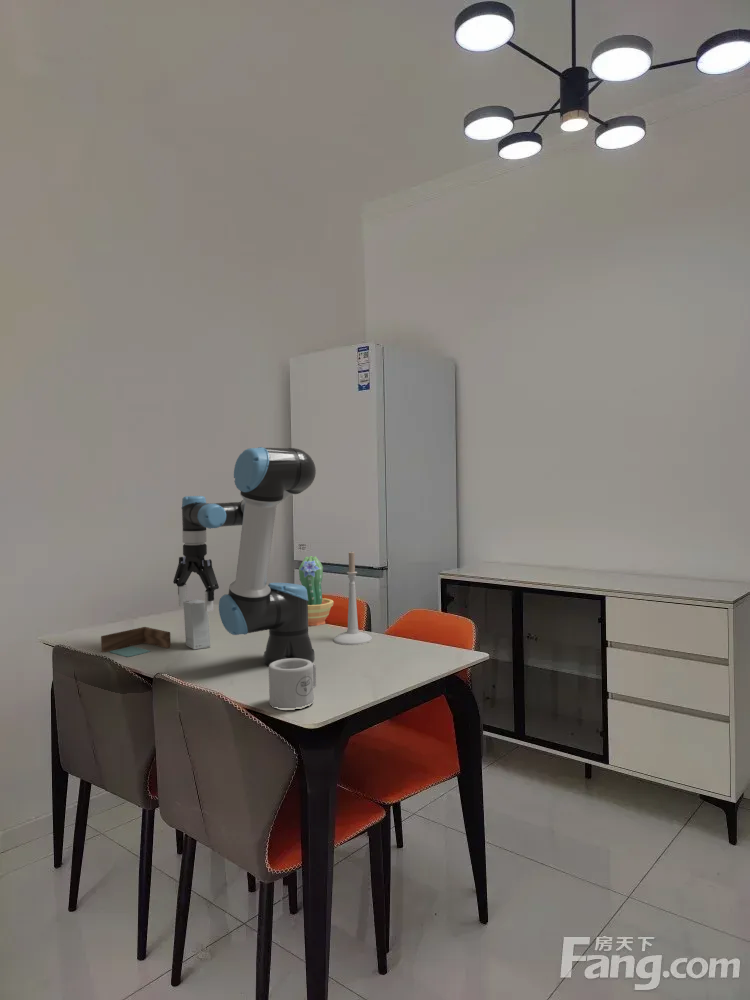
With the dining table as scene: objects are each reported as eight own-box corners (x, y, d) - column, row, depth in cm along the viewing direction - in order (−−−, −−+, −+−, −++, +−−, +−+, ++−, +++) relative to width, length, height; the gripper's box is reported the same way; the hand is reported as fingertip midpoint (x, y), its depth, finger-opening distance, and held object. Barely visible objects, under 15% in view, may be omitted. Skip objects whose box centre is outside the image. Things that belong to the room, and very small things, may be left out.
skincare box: (210, 647, 224) (209, 601, 224) (192, 650, 221) (191, 604, 220) (201, 642, 231) (200, 598, 231) (184, 645, 228) (182, 600, 227)
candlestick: (329, 637, 235) (328, 549, 234) (365, 634, 239) (364, 547, 238) (339, 646, 223) (337, 553, 222) (377, 643, 227) (375, 551, 226)
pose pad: (150, 651, 220) (150, 650, 220) (127, 657, 214) (127, 656, 214) (132, 647, 226) (132, 646, 226) (109, 652, 220) (109, 651, 220)
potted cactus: (284, 624, 257) (282, 557, 256) (310, 617, 269) (309, 552, 268) (316, 629, 248) (314, 559, 247) (342, 621, 260) (341, 555, 259)
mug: (289, 714, 161) (288, 672, 161) (260, 705, 168) (259, 664, 168) (331, 700, 171) (330, 660, 171) (301, 691, 179) (300, 652, 178)
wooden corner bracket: (170, 647, 225) (170, 632, 225) (126, 658, 213) (126, 642, 212) (145, 641, 234) (144, 626, 234) (101, 651, 221) (101, 636, 221)
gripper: (229, 545, 220) (230, 611, 221) (180, 539, 235) (181, 601, 237) (210, 547, 214) (211, 615, 215) (161, 542, 229) (163, 605, 231)
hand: (195, 608), depth 226 cm, fingers open, 13 cm apart
